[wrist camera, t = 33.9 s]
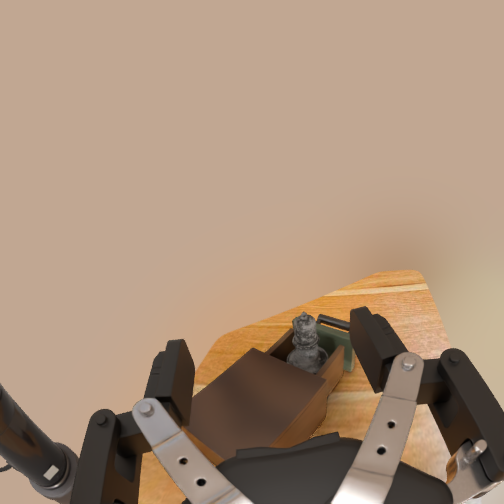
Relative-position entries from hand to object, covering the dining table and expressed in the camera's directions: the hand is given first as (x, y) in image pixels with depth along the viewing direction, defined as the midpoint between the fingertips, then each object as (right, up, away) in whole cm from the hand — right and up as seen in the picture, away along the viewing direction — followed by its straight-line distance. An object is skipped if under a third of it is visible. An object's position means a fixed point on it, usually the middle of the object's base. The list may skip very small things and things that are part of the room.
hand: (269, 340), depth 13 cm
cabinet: (0, -20, +19) cm, 28 cm away
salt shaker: (+8, -14, +26) cm, 30 cm away
